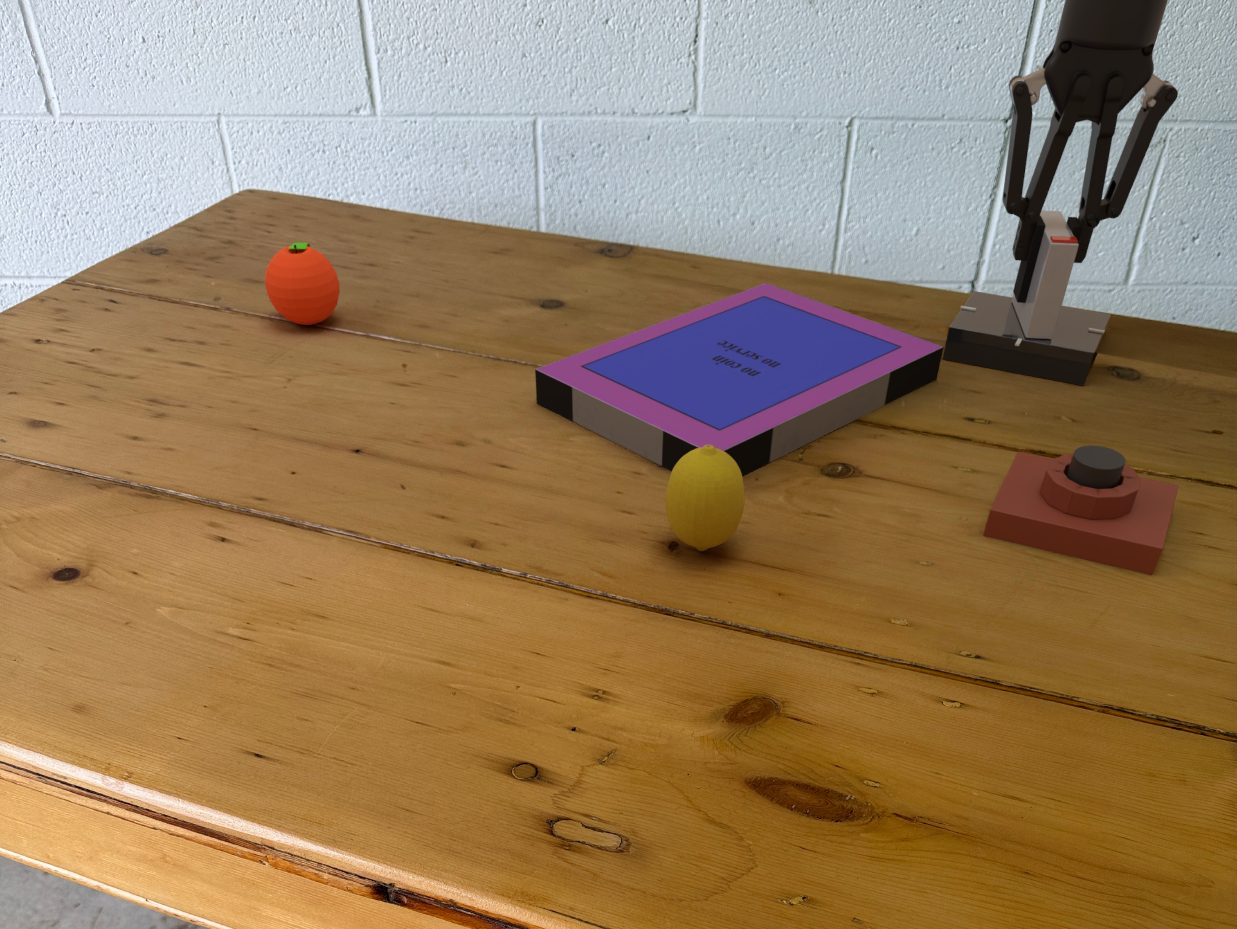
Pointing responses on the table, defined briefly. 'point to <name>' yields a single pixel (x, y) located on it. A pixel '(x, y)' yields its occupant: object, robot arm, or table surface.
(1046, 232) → the grey panel on base
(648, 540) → the table surface
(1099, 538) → the switch block
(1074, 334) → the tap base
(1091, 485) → the button
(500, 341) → the table surface
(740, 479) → the lemon
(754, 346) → the book
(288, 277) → the clementine
